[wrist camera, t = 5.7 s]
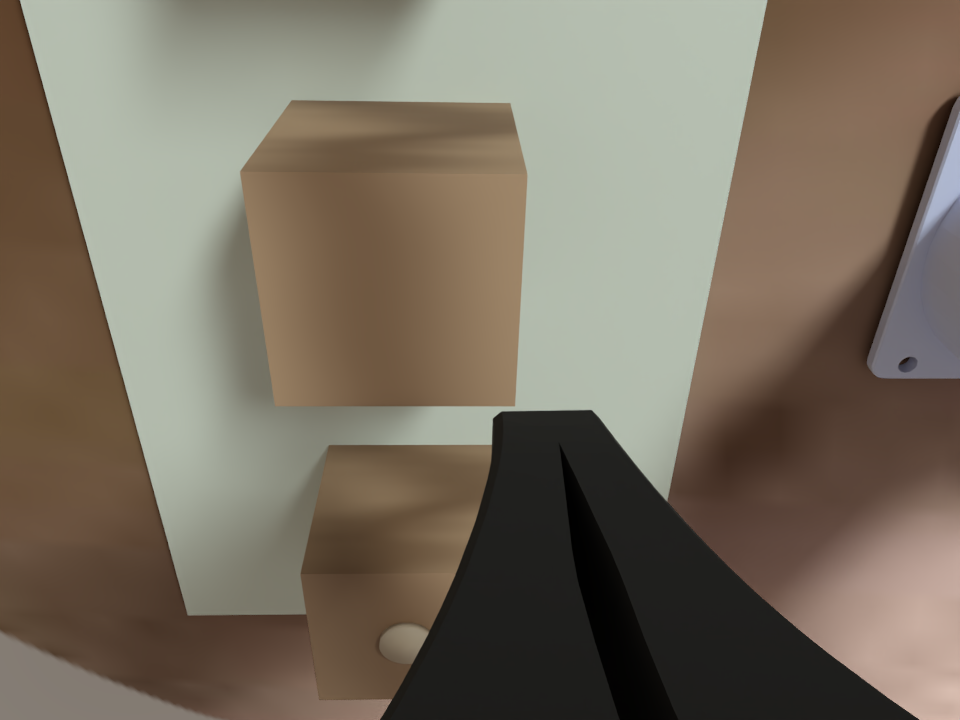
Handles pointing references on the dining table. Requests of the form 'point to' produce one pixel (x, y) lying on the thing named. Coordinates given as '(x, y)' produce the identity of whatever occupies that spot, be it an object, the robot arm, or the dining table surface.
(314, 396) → the plain block
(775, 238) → the dining table surface
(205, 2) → the sage mat
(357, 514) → the one dot block
